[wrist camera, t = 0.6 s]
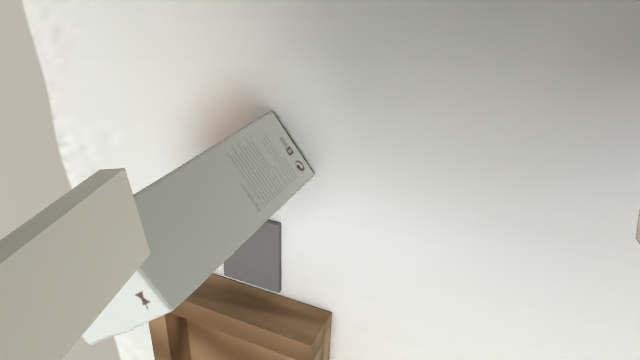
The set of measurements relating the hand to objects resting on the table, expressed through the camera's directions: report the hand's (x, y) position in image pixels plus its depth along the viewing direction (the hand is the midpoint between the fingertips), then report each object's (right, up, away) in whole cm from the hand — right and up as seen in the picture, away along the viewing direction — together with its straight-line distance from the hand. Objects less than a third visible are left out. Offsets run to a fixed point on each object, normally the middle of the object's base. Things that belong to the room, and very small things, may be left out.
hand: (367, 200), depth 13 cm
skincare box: (-5, +1, +15) cm, 16 cm away
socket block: (-6, -11, +22) cm, 25 cm away
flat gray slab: (-5, -4, +18) cm, 19 cm away
